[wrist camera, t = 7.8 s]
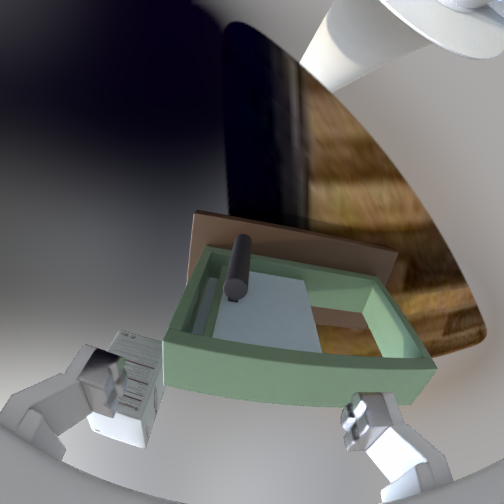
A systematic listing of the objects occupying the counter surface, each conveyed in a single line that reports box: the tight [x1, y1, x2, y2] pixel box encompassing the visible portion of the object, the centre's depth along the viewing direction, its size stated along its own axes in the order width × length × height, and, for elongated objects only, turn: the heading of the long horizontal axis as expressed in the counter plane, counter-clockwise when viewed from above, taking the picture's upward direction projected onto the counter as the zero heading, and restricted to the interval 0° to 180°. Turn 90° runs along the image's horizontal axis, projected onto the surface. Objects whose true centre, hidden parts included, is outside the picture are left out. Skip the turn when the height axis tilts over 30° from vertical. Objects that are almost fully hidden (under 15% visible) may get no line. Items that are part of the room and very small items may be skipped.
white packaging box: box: [87, 330, 166, 449], centre depth 29 cm, size 7×7×13 cm
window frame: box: [162, 210, 437, 407], centre depth 23 cm, size 10×21×15 cm, turn 80°
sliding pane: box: [203, 234, 322, 353], centre depth 21 cm, size 5×8×11 cm, turn 80°
